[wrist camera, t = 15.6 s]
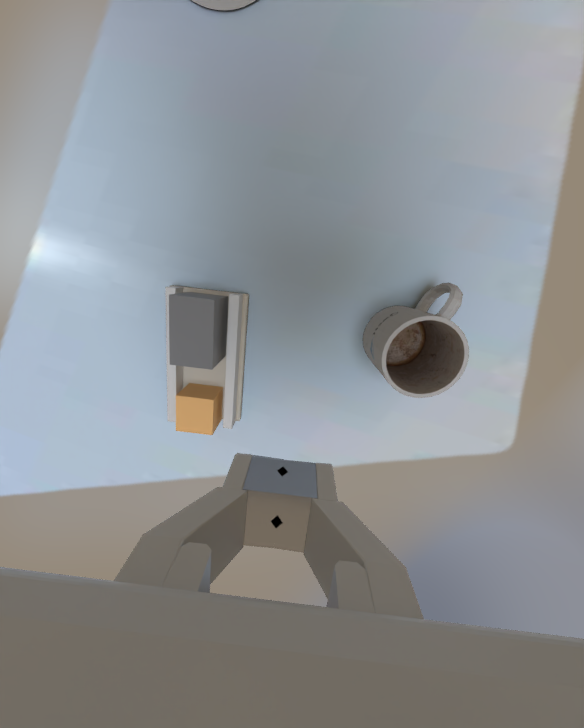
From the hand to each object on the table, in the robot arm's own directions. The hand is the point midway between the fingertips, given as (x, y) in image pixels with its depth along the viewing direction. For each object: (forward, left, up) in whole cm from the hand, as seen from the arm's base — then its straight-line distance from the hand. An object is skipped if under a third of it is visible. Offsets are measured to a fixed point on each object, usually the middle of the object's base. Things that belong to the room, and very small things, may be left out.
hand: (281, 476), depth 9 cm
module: (+1, -12, -30) cm, 32 cm away
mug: (-1, +14, -31) cm, 34 cm away
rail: (+6, -12, -31) cm, 34 cm away
